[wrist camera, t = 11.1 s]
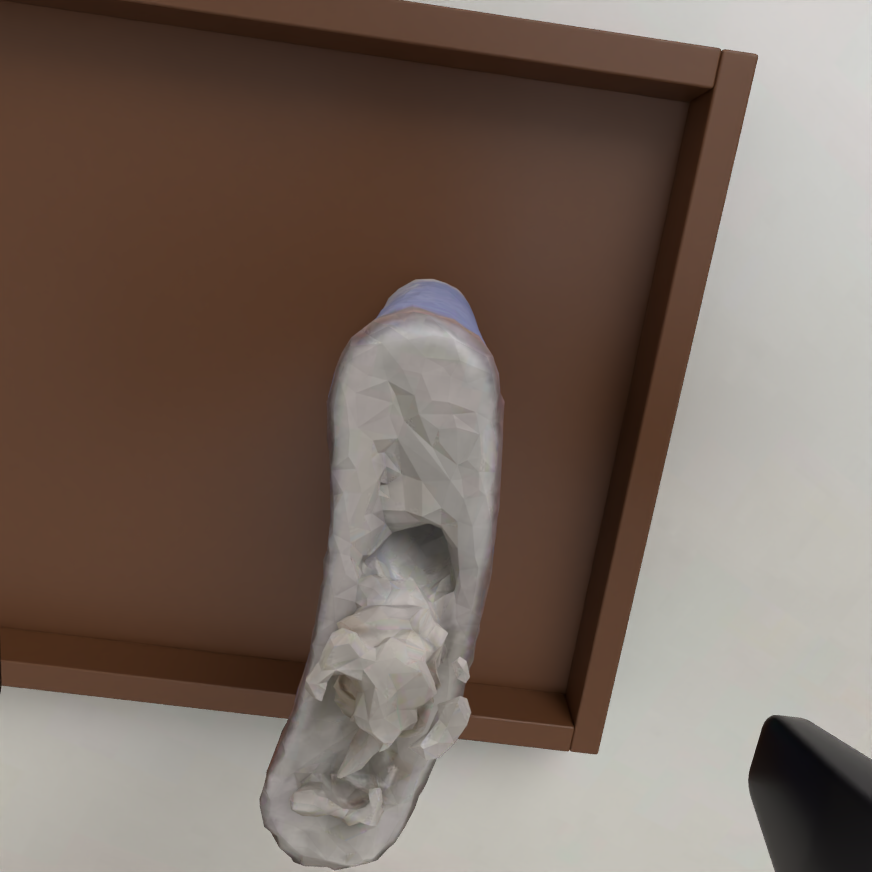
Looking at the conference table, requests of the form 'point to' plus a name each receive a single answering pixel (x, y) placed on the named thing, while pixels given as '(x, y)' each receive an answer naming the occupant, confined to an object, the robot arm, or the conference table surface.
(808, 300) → the conference table surface
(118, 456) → the serving tray
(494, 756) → the conference table surface
